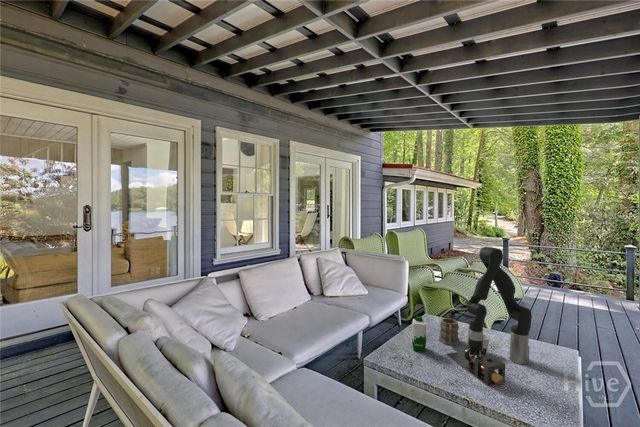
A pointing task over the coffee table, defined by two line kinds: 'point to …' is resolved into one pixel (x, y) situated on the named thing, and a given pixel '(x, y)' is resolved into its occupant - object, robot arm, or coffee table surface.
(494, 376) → the tube
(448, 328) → the tankard
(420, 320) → the milk carton
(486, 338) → the dixie cup
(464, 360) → the dark grey holder
